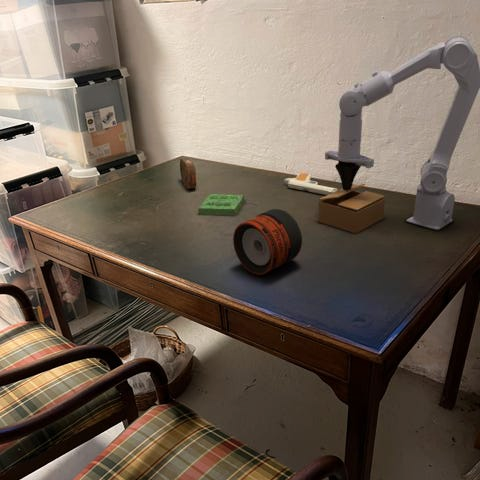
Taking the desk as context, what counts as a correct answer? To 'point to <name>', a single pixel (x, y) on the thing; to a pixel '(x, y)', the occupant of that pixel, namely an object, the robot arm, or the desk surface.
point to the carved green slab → (221, 204)
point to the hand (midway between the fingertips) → (346, 189)
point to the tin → (188, 173)
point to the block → (339, 203)
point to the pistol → (308, 184)
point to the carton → (352, 211)
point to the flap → (341, 192)
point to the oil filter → (267, 241)
